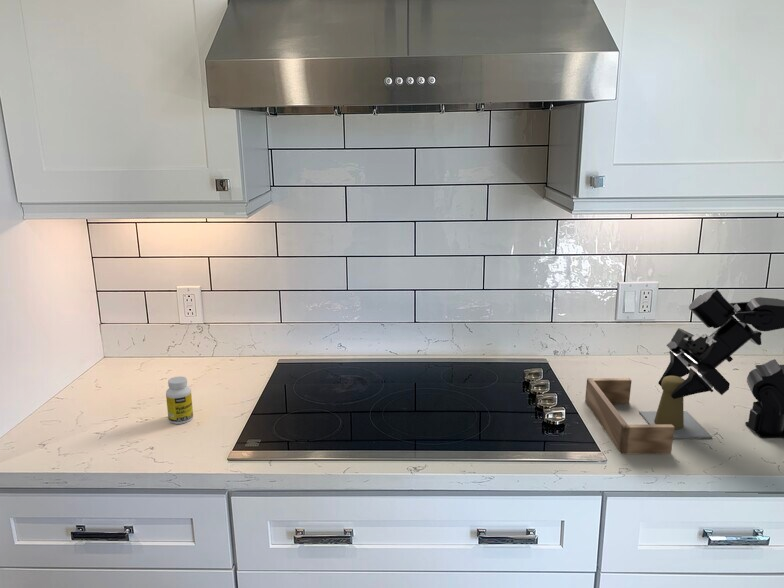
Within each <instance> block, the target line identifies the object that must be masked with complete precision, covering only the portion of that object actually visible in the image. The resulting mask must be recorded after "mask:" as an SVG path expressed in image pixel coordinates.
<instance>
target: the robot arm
mask: <svg viewBox="0 0 784 588" xmlns="http://www.w3.org/2000/svg"><path fill="white" fill-rule="evenodd" d="M688 309H689V311H691V313H693V315H695V316H696V318H697V319H699V321H700V322H702V324H703V325H704V326H706V327H707V328H709V329H710V328H713V329H716V330H714V331H713V332H712V333H711V334H710V335H708V334H706V333H705V334H701V335H699V334H697V333H696V334H693V333H691V332H689V331H686V330H684V329H682V328H679V327H678V328H677V330H676V331H675V333H674V334H673V336H672V338H671V340H670V341H669V342H668V343H667V344H666V347H667V348H668V349H669V351H668V354H669V355H670V356H669V358H670V360H669V363H668V365H667V367H666V369H665V370H664V372H663V374H662V375H661V377H660V379H659V381H658V383H657V385H659V386H660V387H661V382H662V380H663V378H664V377H666V376H678V377H681V378H682V377H685V376H686V375H687V377H686V378H685V379H684V380H685V381H684V382H683V383H682V384H681V385H680V386H679V387H678V388H677V389H676V390H675V391H674V392H673V393H672V394H671V397H672V398H673V399H677V398H680V397H683V398H685V397H689V396H692V395H696V394H700V393H706V392H711V393H713V392H714V390H715V391H716V392H717V393H718V394H719V395H720V396H723V395H724V394H725V393H726V392H727V391H729V390H730V385H731V384H730V382H729V381H728V380H727V379H726V378H725V377H724V376H723V375H722V373H720V371H719V370H718V369H716V368H718V367H719V366H720V365H721V364H722V363H723V362H725V361H726V362H728V363H731V362H732V361H733V360H734V358H733V357H732V355H733V354H734V353H736V352H737V351H738V350H740V349H741V347H743V346H744V345H746V344H747V343H748V342H749V341H750V342H751V343H753V344H755V345H757V346H762V334H763V333H762V332H770V331H775V330H782V329H784V299H779V298H772V297H770V298H769V297H761V296H760V297H753V298H752V299H750V300H749V301H742V302H729V300H727V299H726V298H725V297H724V296H723V295H722V293H721V292H720V290H719V289H718V288H713V289H711V291H706V292H705V293H703V294H700V295H698V296H697V297H696V298H694V300H693V301H691V303H690V304H689V306H688ZM750 325H751V326H752V327H753V328H754V329H755V330H753V329H752V328H751V326H750ZM689 367H690V368H689ZM691 367H692V368H694V369H695V370H696V371H695V370H694V369H692V368H691ZM754 367H755V368H754V369H752V370H750V371H749V372H748V375H747V377H746V383H747V386H748V388H749V390H750V392H751V393H752V394H751V395H752V396H753V398H755V400H756V401H753V403H752V408H750V410H749V416H748V421H745V422H744V424H745V426H746V427H748V429H750V430H751V431H752V432H753V433H754V434H755V435H757V436H758V437H759V438H761V439H778V438H779V439H784V364H779V363H778V361H777V360H776V359H775V358H774V359H771V360H769V361H767V362H765V363H762V364H757V365H756V364H755V366H754Z"/></svg>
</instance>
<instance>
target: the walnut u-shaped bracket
mask: <svg viewBox="0 0 784 588" xmlns="http://www.w3.org/2000/svg"><path fill="white" fill-rule="evenodd" d="M585 387H586V389H585V397H584V398H585V399H584V402H585V404H586V405H587V407H588V408H589V409H590V411H591V413H592V414H593V416H594V417H595V418H596V420H597V421H598V423H599V424H600V425H601V427H602V428H603V430H604V431H605V433H606V434H607V435H608V437H609V439H610V440H611V442H612V443H613V444H614V446H615V447H616V449H617V450H618V452H619V453H620V454H621V455H663V454H664V455H671V454H672V451H673V450H672V448H673V444H674V443H673V442H674V439H673V435H674V428H675V427H674V426H673V425H672V424H650V425H649V424H628V423H627V421H626V420H625V419H624V418H623V416H622V415H621V414H620V412H619V411H618V410H617V409H616V408H615V406H614V405H615V404H630V398H631V391H632V390H631V389H632V379H631V378H630V377H623V378H621V377H618V378H615V377H612V378H610V377H609V378H607V377H606V378H604V377H603V378H601V377H600V378H599V377H598V378H589V377H588V378H586V386H585ZM613 404H614V405H613Z"/></svg>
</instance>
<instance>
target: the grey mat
mask: <svg viewBox="0 0 784 588" xmlns="http://www.w3.org/2000/svg"><path fill="white" fill-rule="evenodd" d="M638 412H639V415H640V416H641V417H642V419H643V420H644V421H645V422H646V421H647V422H648V423H647V422H646V423H647V425H650V424H655V422H654V420H655V416H656V413H657V410H655V411H654V410H653V411H652V410H651V411H650V410H648V411H647V410H646V411H643V410H642V411H641V410H640V411H638ZM683 413H684V426H683V428H682V429H680V430H674V435H673V440H676V439H677V440H678V439H687V440H688V439H689V440H690V439H713V436H712V435H711V434H710V432H708V430H706V429H705V428H704V427H703V426H702V425H701V423H699V422H698V421H697V420H696V418H694V417H693V416H692V414H690V412H688V410H683Z"/></svg>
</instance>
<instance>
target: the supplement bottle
mask: <svg viewBox="0 0 784 588" xmlns="http://www.w3.org/2000/svg"><path fill="white" fill-rule="evenodd" d="M167 384H168V385H167V386H168V388H167V389H166V392H165V398H166V408H167V417H168V419H167V420H168V421H169V422H170V424H173V425H181V424H182V425H183V424H187V423H188V422H191V421H192V420H193V418H194V410H193V398H192V389H191V387H190V386H189V385H188V379H187V377H186V376H181V375H180V376H174V377H170V378H169V379H168V382H167Z"/></svg>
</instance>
